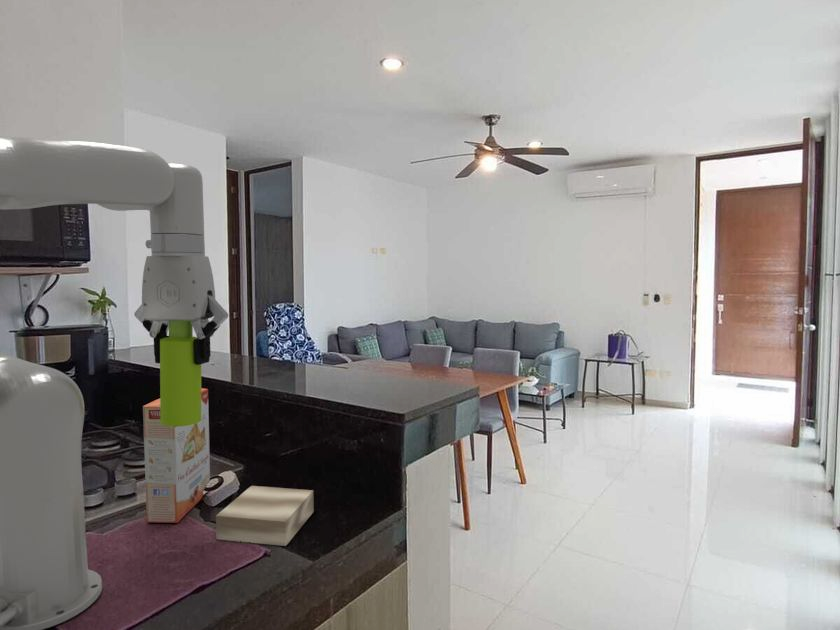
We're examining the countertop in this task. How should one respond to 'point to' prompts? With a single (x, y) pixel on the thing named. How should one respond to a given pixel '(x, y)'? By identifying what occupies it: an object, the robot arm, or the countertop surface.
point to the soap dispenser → (179, 377)
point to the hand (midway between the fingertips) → (182, 361)
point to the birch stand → (265, 515)
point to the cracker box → (175, 463)
